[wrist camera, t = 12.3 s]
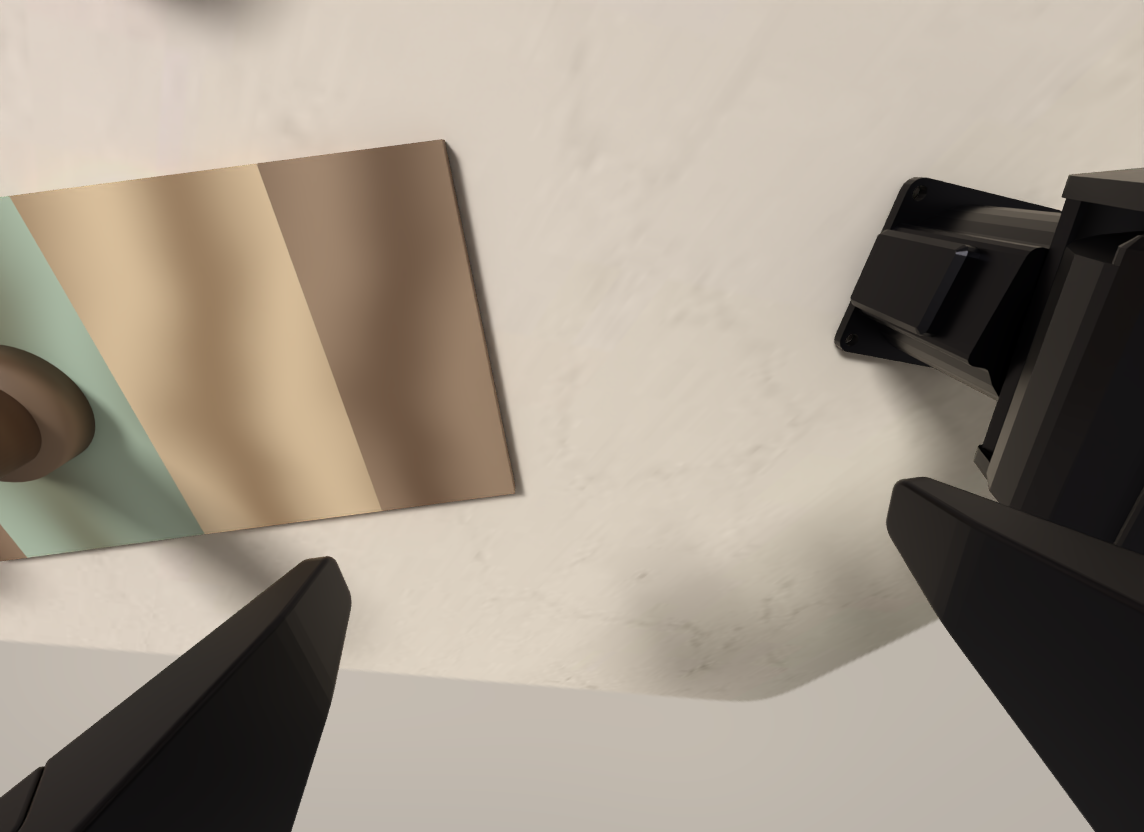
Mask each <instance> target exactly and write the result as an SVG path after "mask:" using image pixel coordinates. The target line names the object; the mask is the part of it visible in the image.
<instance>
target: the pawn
mask: <svg viewBox="0 0 1144 832" xmlns="http://www.w3.org/2000/svg"><path fill="white" fill-rule="evenodd" d="M94 434H95V418H94V414H93V411H92V408H91V406H90V404H89V402H88V400H87V398H86V397H85V395H84V393H83V392H82V391H81V390H80V388H79V387H78V386H77V385H76V384H75V383H74V382H73V381H72V380H71V379H70V378H69V377H68V376H67V375H66V374H65V373H64V372H62V371H61V370H60V369H58V368H57V367H56V366H54V365H53V364H51V363H49V362H48V361H46V360H44V359H43V358H41V357H39V356H36V355H34V354H32V353H30V352H27V351H25V350H22V349H18V348H15V347H11V346H6V345H0V481H2V482H27V481H33V480H36V479H40V478H42V477H44V476H46V475H48V474H49V473H51V472H52V471H54V470H55V469H57V468H59V467H60V466H62V465H63V464H65V463H66V462H68V461H70V460H71V459H73V458H74V457H76V456H77V455H79V454H80V453H82V452H83V451H84V450H86V449H87V448H88V446H89V445H90V443H91V442H92V440H93V437H94Z"/></svg>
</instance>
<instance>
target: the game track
mask: <svg viewBox="0 0 1144 832" xmlns="http://www.w3.org/2000/svg"><path fill="white" fill-rule="evenodd" d="M0 345H6V346H11V347H15V348H18V349H22V350H25V351H27V352H30V353H32V354H34V355H36V356H39V357H41V358H43V359H44V360H46V361H48V362H49V363H51V364H53V365H54V366H56V367H57V368H58V369H60V370H61V371H62V372H64V373H65V374H66V375H67V376H68V377H69V378H70V379H71V380H72V381H73V382H74V383H75V384H76V385H77V386H78V387H79V388H80V390H81V391H82V392H83V393H84V395H85V397H86V398H87V400H88V402H89V404H90V406H91V408H92V411H93V414H94V418H95V434H94V437H93V440H92V442H91V443H90V445H89V446H88V448H87V449H86V450H84V451H83V452H82V453H80V454H79V455H77V456H76V457H74V458H73V459H71V460H70V461H68V462H66V463H65V464H63V465H62V466H60V467H59V468H57V469H55V470H54V471H52V472H51V473H49V474H48V475H46V476H44V477H42V478H40V479H36V480H33V481H27V482H2V481H0V561H6V560H14V559H22V558H29V557H37V556H44V555H52V554H59V553H67V552H75V551H82V550H90V549H97V548H105V547H113V546H120V545H128V544H135V543H143V542H150V541H158V540H166V539H173V538H181V537H188V536H196V535H203V534H211V533H219V532H226V531H234V530H241V529H249V528H256V527H264V526H272V525H279V524H287V523H294V522H302V521H310V520H317V519H325V518H332V517H340V516H347V515H355V514H363V513H370V512H378V511H385V510H393V509H400V508H408V507H416V506H423V505H431V504H438V503H446V502H453V501H461V500H469V499H476V498H484V497H491V496H499V495H506V494H514V493H515V482H514V477H513V472H512V467H511V462H510V457H509V452H508V448H507V443H506V438H505V433H504V428H503V423H502V418H501V413H500V408H499V403H498V399H497V394H496V389H495V384H494V379H493V374H492V369H491V364H490V359H489V354H488V349H487V345H486V340H485V335H484V330H483V325H482V320H481V315H480V310H479V305H478V300H477V296H476V291H475V286H474V281H473V276H472V271H471V266H470V261H469V256H468V251H467V247H466V242H465V237H464V232H463V227H462V222H461V217H460V212H459V207H458V202H457V197H456V193H455V188H454V183H453V178H452V173H451V168H450V163H449V158H448V153H447V148H446V144H445V140H442V139H441V140H434V141H426V142H418V143H411V144H403V145H395V146H388V147H380V148H373V149H365V150H357V151H350V152H342V153H334V154H327V155H319V156H312V157H304V158H296V159H289V160H281V161H273V162H266V163H258V164H250V165H243V166H235V167H228V168H220V169H212V170H205V171H197V172H189V173H182V174H174V175H166V176H159V177H151V178H144V179H136V180H128V181H121V182H113V183H105V184H98V185H90V186H82V187H75V188H67V189H60V190H52V191H44V192H37V193H29V194H21V195H14V196H6V197H0Z"/></svg>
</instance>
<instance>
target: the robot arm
mask: <svg viewBox="0 0 1144 832" xmlns="http://www.w3.org/2000/svg"><path fill="white" fill-rule="evenodd" d="M918 186H919V189H920V191H919V194H918V196H917V197H916V198H915V199H913V192H914V190H915V189H916V188H917V187H918ZM1062 198H1066V201H1065V204H1064V207H1063V210H1062V211H1060V210H1056V209H1052V208H1048V207H1044V206H1040V205H1036V204H1032V203H1028V202H1024V201H1020V200H1016V199H1012V198H1008V197H1004V196H999V195H995V194H991V193H987V192H983V191H979V190H975V189H971V188H967V187H963V186H959V185H955V184H951V183H947V182H943V181H938V180H934V179H930V178H922V177H914V178H911V179H909V180H908V181H907V182H905V183H904V184H903V186H902V188H901V189H900V191H899V193H898V196H897V198H896V200H895V202H894V205H893V207H892V209H891V211H890V214H889V216H888V218H887V220H886V223H885V225H884V227H883V229H882V232H881V233H880V234H879V235H878V237H877V239H876V241H875V243H874V246H873V248H872V250H871V252H870V255H869V257H868V259H867V261H866V264H865V266H864V268H863V270H862V273H861V275H860V277H859V279H858V282H857V284H856V286H855V288H854V291H853V293H852V295H851V301H850V303H849V306H848V308H847V310H846V312H845V315H844V317H843V319H842V321H841V324H840V326H839V328H838V330H837V333H836V335H835V339H834V340H835V344H836V345H837V347H839V348H840V349H842V350H844V351H846V352H851V353H857V354H862V355H868V356H873V357H878V358H884V359H889V360H895V361H900V362H905V363H911V364H916V365H922V366H927V367H932V368H935V369H937V370H939V371H941V372H943V373H945V374H947V375H949V376H951V377H953V378H954V379H956V380H958V381H960V382H962V383H964V384H966V385H968V386H970V387H972V388H974V389H976V390H978V391H979V392H981V393H983V394H985V395H987V396H989V397H991V398H993V399H995V400H997V404H996V407H995V410H994V413H993V416H992V419H991V422H990V425H989V428H988V431H987V434H986V437H985V440H984V443H983V444H982V445H979V446H978V448H977V451H976V454H975V457H974V462H975V464H976V465H977V466H978V468H979V469H980V470H981V472H982V473H983V475H984V476H985V477H986V479H987V480H988V486H989V491H990V492H991V493H992V495H993V496H994V497H995V498H996V499H997V501H998V502H999V503H998V502H995V501H992V500H989V499H987V498H984V497H981V496H978V495H975V494H973V493H970V492H967V491H964V490H961V489H959V488H956V487H953V486H950V485H948V484H945V483H942V482H939V481H936V480H934V479H931V478H928V477H916V478H909V479H902V480H899V481H897V482H896V484H895V485H894V487H893V491H892V496H891V500H890V505H889V510H888V514H887V519H886V526H887V531H888V533H889V536H890V538H891V539H892V541H893V543H894V544H895V546H896V548H897V549H898V551H899V553H900V554H901V556H902V558H903V559H904V561H905V563H906V564H907V566H908V568H909V570H910V571H911V573H912V575H913V576H914V578H915V580H916V581H917V583H918V585H919V586H920V588H921V590H922V591H923V593H924V595H925V596H926V598H927V600H928V601H929V603H930V605H931V606H932V608H933V610H934V611H935V613H936V614H937V616H938V617H939V619H940V621H941V622H942V624H943V625H944V626H945V628H946V629H947V631H948V632H949V634H950V635H951V636H952V638H953V639H954V640H955V642H956V643H957V645H958V646H959V647H960V649H961V650H962V651H963V653H964V654H965V656H966V657H967V658H968V660H969V661H970V662H971V664H972V665H973V666H974V668H975V669H976V670H977V672H978V673H979V675H980V676H981V677H982V679H983V680H984V681H985V683H986V684H987V685H988V687H989V688H990V689H991V691H992V692H993V694H994V695H995V696H996V698H997V699H998V700H999V702H1000V703H1001V705H1002V706H1003V707H1004V709H1005V710H1006V711H1007V713H1008V714H1009V715H1010V717H1011V718H1012V720H1013V721H1014V722H1015V723H1016V725H1017V726H1018V728H1019V729H1020V730H1021V732H1022V733H1023V734H1024V736H1025V737H1026V739H1027V740H1028V741H1029V743H1030V744H1031V745H1032V747H1033V748H1034V749H1035V751H1036V752H1037V754H1038V755H1039V756H1040V758H1041V759H1042V760H1043V762H1044V763H1045V764H1046V766H1047V767H1048V769H1049V770H1050V771H1051V772H1052V774H1053V775H1054V777H1055V778H1056V779H1057V781H1058V782H1059V784H1060V785H1061V786H1062V788H1063V789H1064V790H1065V791H1066V793H1067V794H1068V796H1069V797H1070V798H1071V800H1072V801H1073V803H1074V804H1075V805H1076V806H1077V808H1078V809H1079V811H1080V812H1081V813H1082V815H1083V816H1084V818H1085V819H1086V820H1087V822H1088V823H1089V824H1090V826H1091V827H1092V828H1093V830H1094V831H1095V832H1144V168H1136V169H1125V170H1114V171H1104V172H1093V173H1082V174H1072V175H1069V176H1068V179H1067V182H1066V185H1065V188H1064V191H1063V194H1062ZM851 334H853V337H852V339H851V340H850V341H849V342H847V343H846V338H847V337H848V336H849V335H851ZM350 611H351V595H350V591H349V589H348V587H347V584H346V582H345V580H344V578H343V575H342V573H341V571H340V568H339V566H338V564H337V562H336V560H335V559H334V558H332V557H329V556H326V557H318V558H310V559H306V560H304V561H302V562H301V563H299V564H298V565H297V566H296V567H294V568H293V569H292V570H290V571H289V572H288V573H287V574H285V575H284V576H283V577H282V578H280V579H279V580H278V581H276V582H275V583H274V584H273V585H271V586H270V587H269V588H267V589H266V590H265V591H264V592H262V593H261V594H260V595H259V596H257V597H256V598H255V599H253V600H252V601H251V602H250V603H248V604H247V605H246V606H244V607H243V608H242V609H241V610H239V611H238V612H237V613H236V614H234V615H233V616H232V617H230V618H229V619H228V620H227V621H225V622H224V623H223V624H221V625H220V626H219V627H218V628H216V629H215V630H214V631H213V632H211V633H210V634H209V635H207V636H206V637H205V638H204V639H202V640H201V641H200V642H198V643H197V644H196V645H195V646H193V647H192V648H191V649H190V650H188V651H187V652H186V653H184V654H183V655H182V656H181V657H179V658H178V659H177V660H175V661H174V662H173V663H172V664H170V665H169V666H168V667H167V668H165V669H164V670H163V671H161V672H160V673H159V674H158V675H157V676H155V677H154V678H152V679H151V680H150V681H149V682H147V683H146V684H145V685H144V686H142V687H141V688H140V689H138V690H137V691H136V692H135V693H133V694H132V695H131V696H130V697H128V698H127V699H126V700H124V701H123V702H122V703H121V704H120V705H118V706H117V707H115V708H114V709H113V710H112V711H111V712H109V713H108V714H106V715H105V716H104V717H103V718H101V719H100V720H99V721H98V722H96V723H95V724H94V725H93V726H91V727H90V728H89V729H88V730H86V731H85V732H84V733H82V734H81V735H80V736H78V737H77V738H76V739H75V740H73V741H72V742H71V743H69V744H68V745H67V746H66V747H64V748H63V749H62V750H60V751H59V752H58V753H57V754H55V755H54V756H53V757H52V758H50V759H49V760H48V761H47V763H46V765H45V767H39V768H37V769H36V770H35V771H33V772H32V773H31V774H30V775H28V776H27V777H26V778H25V779H23V780H22V781H21V782H20V783H18V784H17V785H16V786H14V787H13V788H12V789H11V790H9V791H8V792H7V793H6V794H4V795H3V796H2V797H0V832H291V831H292V827H293V824H294V821H295V818H296V815H297V812H298V808H299V805H300V802H301V799H302V796H303V792H304V789H305V786H306V783H307V780H308V777H309V773H310V770H311V767H312V764H313V760H314V757H315V754H316V751H317V748H318V744H319V741H320V738H321V735H322V732H323V729H324V726H325V722H326V719H327V716H328V712H329V708H330V705H331V701H332V697H333V693H334V689H335V684H336V679H337V674H338V670H339V665H340V660H341V655H342V650H343V645H344V640H345V635H346V630H347V626H348V621H349V616H350Z"/></svg>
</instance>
